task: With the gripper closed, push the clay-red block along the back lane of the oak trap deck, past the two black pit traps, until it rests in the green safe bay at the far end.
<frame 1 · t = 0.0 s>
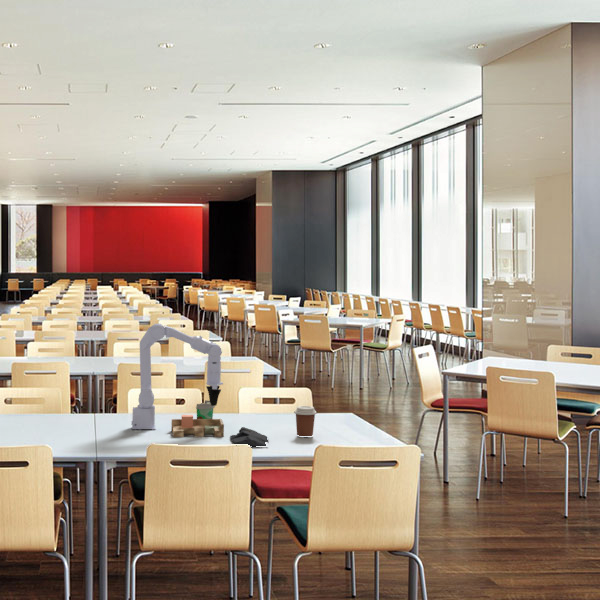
hand: (213, 404, 355), 10 cm above the table, tool pointing down, fingers open, 7 cm apart
coffee cup: (304, 437, 341), on the table
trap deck: (196, 434, 340), on the table
clay-red block: (187, 426, 343), point 2 cm above the table, touching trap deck
dark slate chunk: (249, 444, 326), on the table
food container: (207, 426, 361), on the table
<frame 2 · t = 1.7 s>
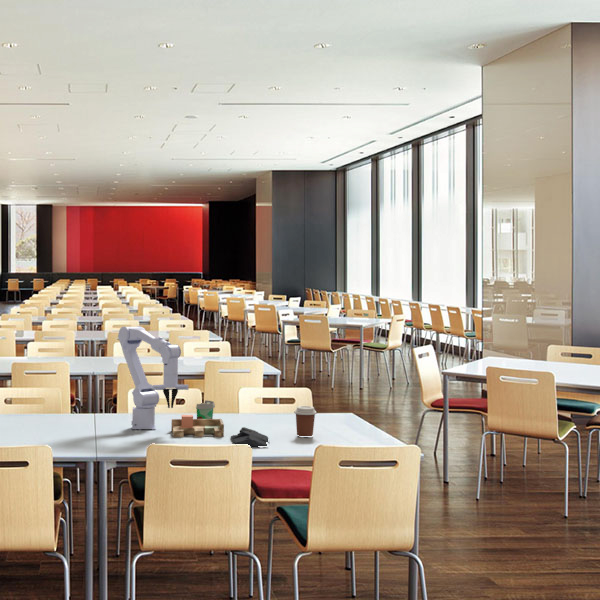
hand: (170, 407, 341), 10 cm above the table, tool pointing down, fingers closed
nothing on the table moved.
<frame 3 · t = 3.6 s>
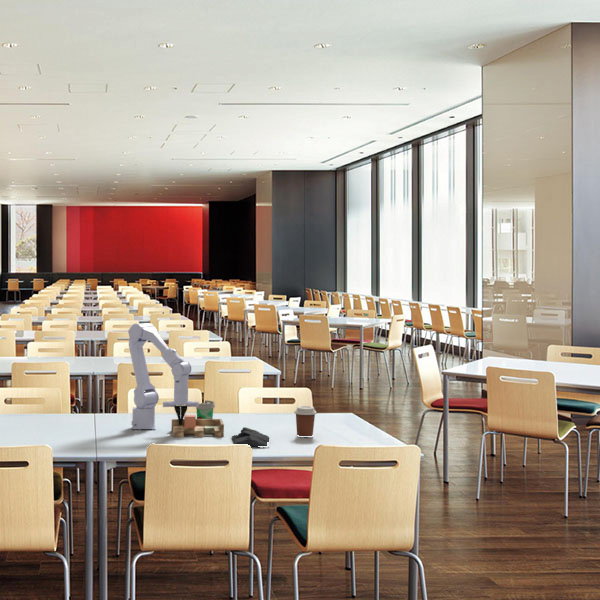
hand: (180, 424, 343), 3 cm above the table, tool pointing down, fingers closed
clay-red block: (189, 426, 343), point 3 cm above the table, touching gripper
everything else where it was.
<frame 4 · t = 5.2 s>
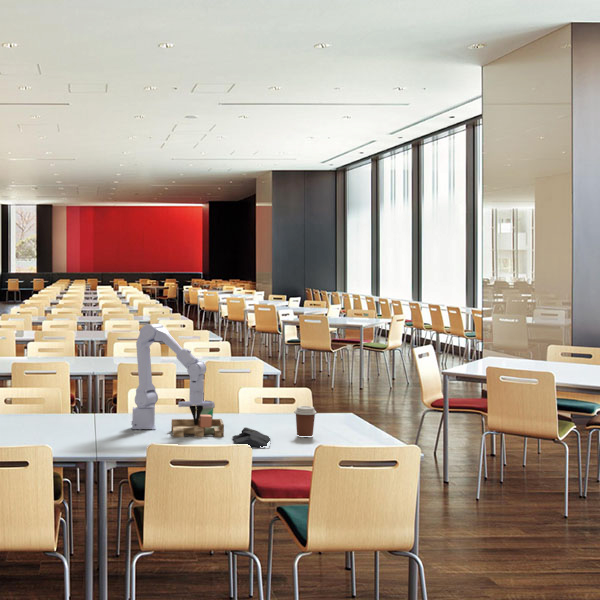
hand: (195, 424, 344), 3 cm above the table, tool pointing down, fingers closed, pressing on clay-red block
clay-red block: (205, 426, 344), point 3 cm above the table, touching gripper, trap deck
everything else where it was.
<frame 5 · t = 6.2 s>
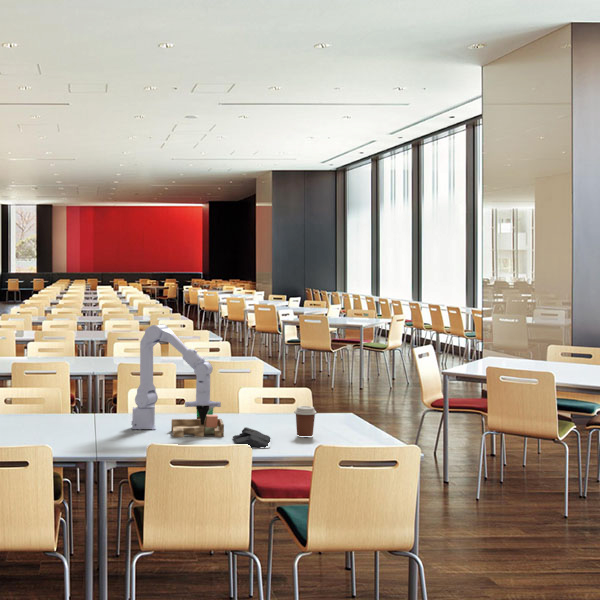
hand: (202, 424, 344), 3 cm above the table, tool pointing down, fingers closed
clay-red block: (211, 426, 345), point 3 cm above the table, touching gripper, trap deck
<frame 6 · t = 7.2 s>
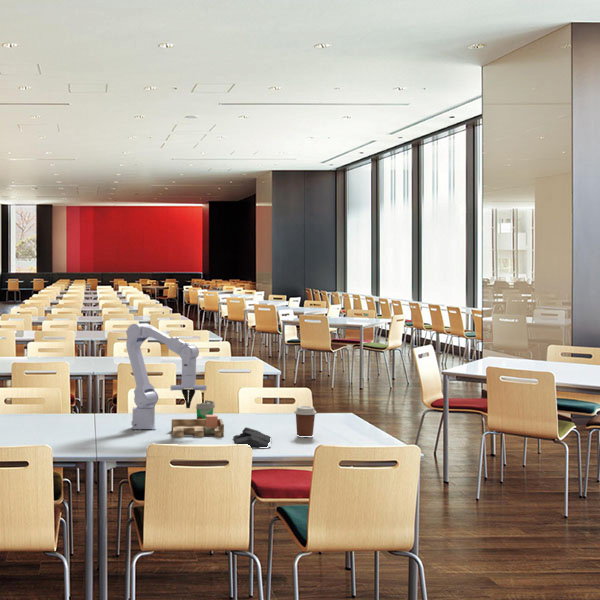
hand: (188, 407, 343), 10 cm above the table, tool pointing down, fingers closed
clay-red block: (211, 426, 345), point 2 cm above the table, touching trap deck
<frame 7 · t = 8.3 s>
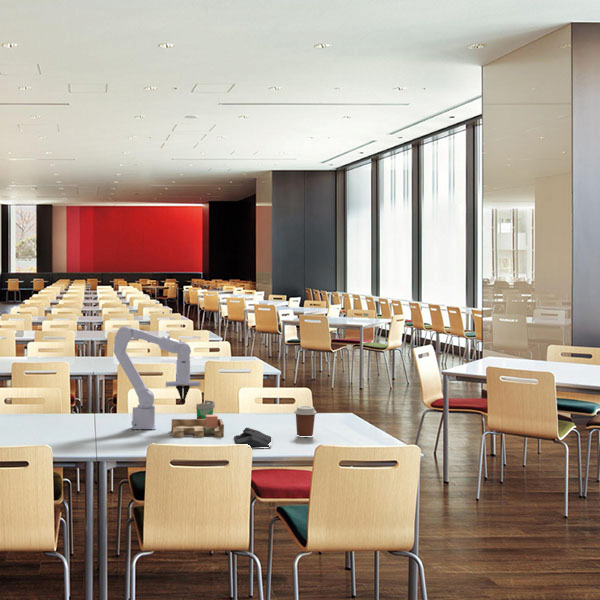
hand: (182, 403, 353), 10 cm above the table, tool pointing down, fingers closed
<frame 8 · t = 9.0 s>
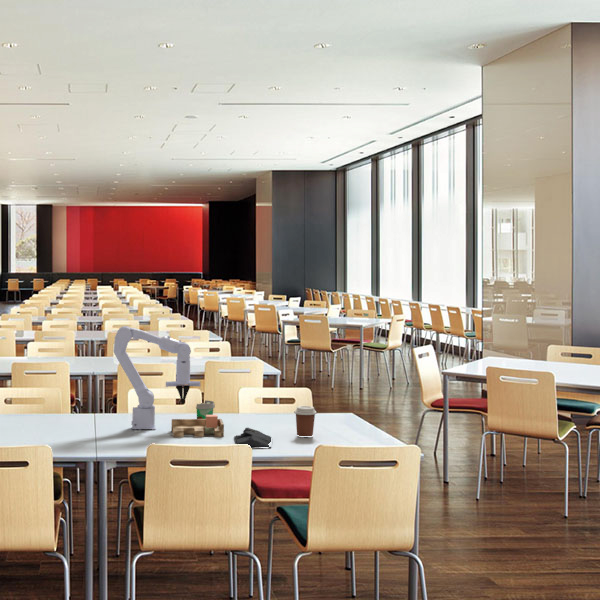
hand: (182, 403, 353), 10 cm above the table, tool pointing down, fingers closed
at the end: clay-red block 0.2 cm from the target spot on the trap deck, point 2.5 cm above the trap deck's base; clay-red block tilted 0° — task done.
